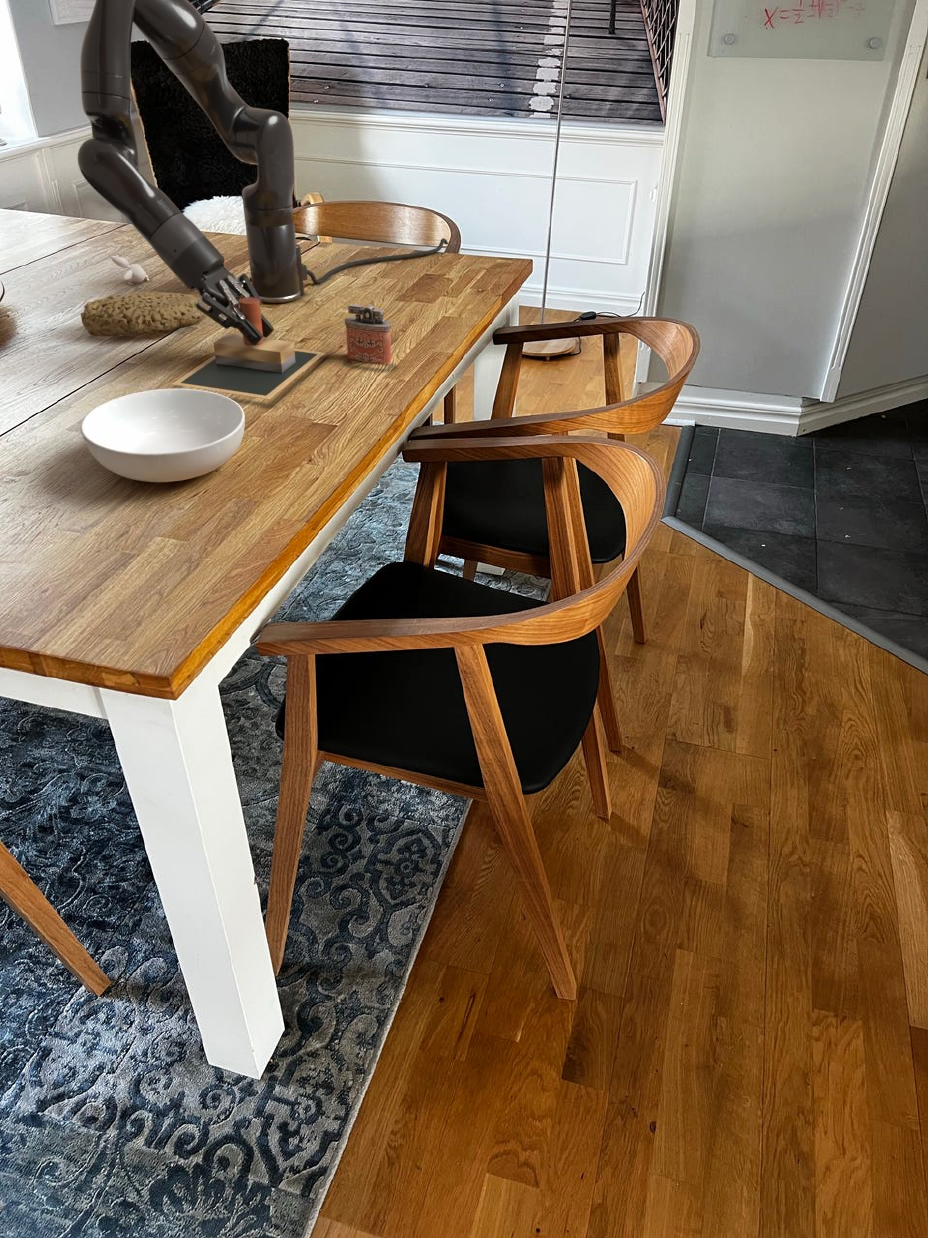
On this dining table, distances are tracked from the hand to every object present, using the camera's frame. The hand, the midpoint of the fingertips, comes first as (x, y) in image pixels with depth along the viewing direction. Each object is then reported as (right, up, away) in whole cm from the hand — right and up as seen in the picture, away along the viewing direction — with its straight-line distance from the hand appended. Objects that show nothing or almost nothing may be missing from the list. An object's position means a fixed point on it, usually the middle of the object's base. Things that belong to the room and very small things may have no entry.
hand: (264, 337), depth 154 cm
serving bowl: (-7, -25, -24) cm, 35 cm away
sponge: (-25, +6, +18) cm, 31 cm away
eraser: (-2, -3, +3) cm, 5 cm away
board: (-2, -5, +2) cm, 7 cm away
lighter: (+16, -3, +7) cm, 18 cm away
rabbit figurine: (-36, +23, +40) cm, 59 cm away
